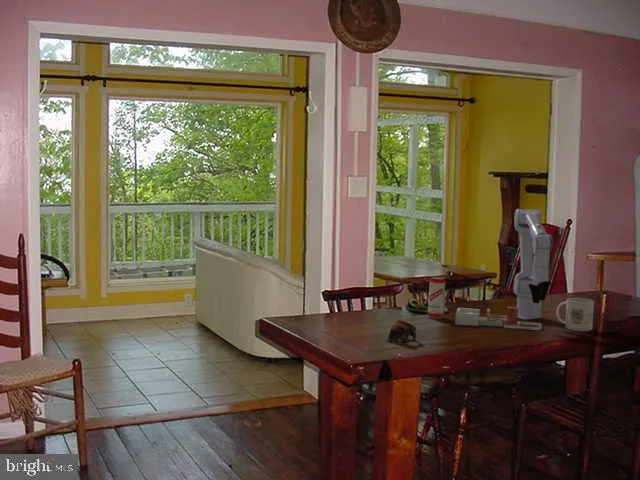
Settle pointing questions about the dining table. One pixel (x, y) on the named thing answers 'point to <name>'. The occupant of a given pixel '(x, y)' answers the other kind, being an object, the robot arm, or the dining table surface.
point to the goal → (467, 316)
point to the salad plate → (419, 307)
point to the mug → (578, 314)
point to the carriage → (509, 319)
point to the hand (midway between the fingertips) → (538, 301)
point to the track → (499, 324)
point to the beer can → (436, 298)
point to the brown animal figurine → (401, 332)
